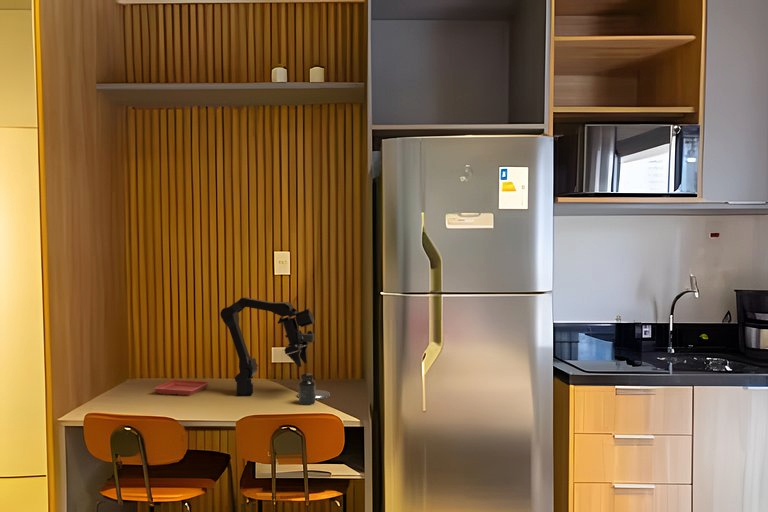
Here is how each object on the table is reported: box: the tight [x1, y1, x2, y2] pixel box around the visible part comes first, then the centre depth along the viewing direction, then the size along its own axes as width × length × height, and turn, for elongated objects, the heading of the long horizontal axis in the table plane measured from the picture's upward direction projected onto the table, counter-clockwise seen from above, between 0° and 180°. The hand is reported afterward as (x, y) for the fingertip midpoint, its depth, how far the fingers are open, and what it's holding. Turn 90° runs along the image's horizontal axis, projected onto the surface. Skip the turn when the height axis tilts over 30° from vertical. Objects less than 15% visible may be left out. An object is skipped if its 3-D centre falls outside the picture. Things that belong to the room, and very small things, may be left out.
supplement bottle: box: [298, 372, 316, 406], centre depth 270 cm, size 7×7×12 cm
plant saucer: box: [153, 379, 210, 396], centre depth 291 cm, size 18×18×3 cm
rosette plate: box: [297, 389, 331, 400], centre depth 283 cm, size 14×14×1 cm
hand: (303, 365), depth 281 cm, fingers open, 9 cm apart
